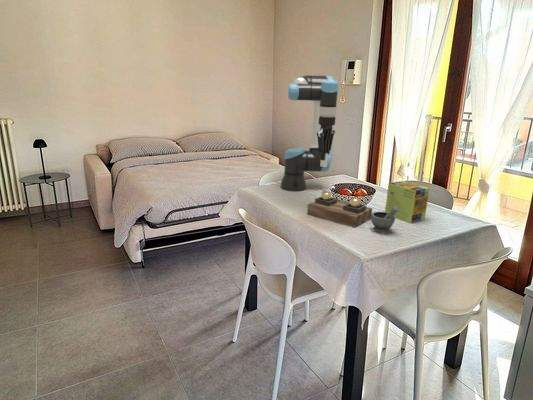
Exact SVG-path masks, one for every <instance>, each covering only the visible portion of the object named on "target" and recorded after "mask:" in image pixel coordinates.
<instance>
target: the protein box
mask: <svg viewBox="0 0 533 400" xmlns="http://www.w3.org/2000/svg"><path fill="white" fill-rule="evenodd" d="M430 190H431V189H430V187H428V186H424V185H420V184H417V183H412V182H408V181H405V180H401V181H394V182H389V183H388V187H387V193H386V194H387V195H386V200H385V201H386V202H385V207H384V208H385V209H384V212H387V213H389V212H390V210H391V209H392V207H393V206H395V207H397V208H398V209H399V211H398V212H396V214H395V215H394V216H395V219H398V220H401V221H405V222H407V223H409V224H413V223H417V222H420V221H424V220H425V219H426V213H427V207H428V200H429V193H430Z"/></svg>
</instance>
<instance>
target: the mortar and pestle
mask: <svg viewBox="0 0 533 400" xmlns="http://www.w3.org/2000/svg"><path fill="white" fill-rule="evenodd" d="M398 211H399V209H398V208H397V207H395V206H393V207H392V209H391V210H390V212H389V213H387V212H385V211H374V212H373V211H372V214H371V219H370V220H371V223H372V225H373V226H374V227H373V230H374V231H375V232H376V233H379V234H388V233H389V232H390V229H391V228H392V226H393V225H394V224H395V221H396V218H395V216H394V215H395V214H396V212H398Z"/></svg>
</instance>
